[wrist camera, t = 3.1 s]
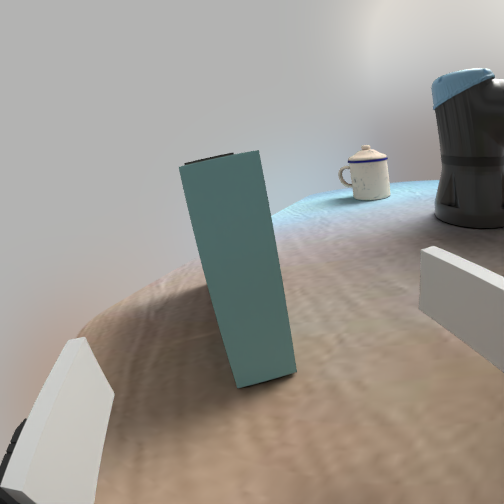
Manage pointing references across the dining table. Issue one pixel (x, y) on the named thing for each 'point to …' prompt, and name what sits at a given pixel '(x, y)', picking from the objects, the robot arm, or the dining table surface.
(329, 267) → the dining table surface
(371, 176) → the teacup with lid
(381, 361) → the dining table surface
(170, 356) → the dining table surface
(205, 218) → the teal rectangular block
